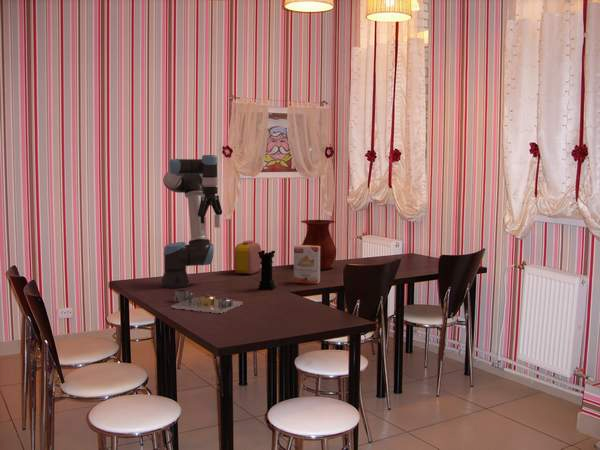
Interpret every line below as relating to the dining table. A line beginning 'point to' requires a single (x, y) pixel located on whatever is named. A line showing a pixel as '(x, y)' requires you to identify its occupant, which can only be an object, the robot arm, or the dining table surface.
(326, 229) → the vase
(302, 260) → the cracker box
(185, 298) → the gear
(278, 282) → the dining table surface
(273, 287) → the chess piece
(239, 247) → the lunch box
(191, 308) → the carrier
